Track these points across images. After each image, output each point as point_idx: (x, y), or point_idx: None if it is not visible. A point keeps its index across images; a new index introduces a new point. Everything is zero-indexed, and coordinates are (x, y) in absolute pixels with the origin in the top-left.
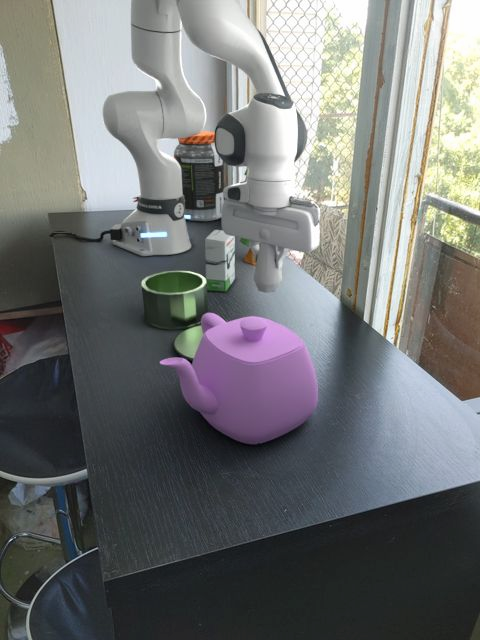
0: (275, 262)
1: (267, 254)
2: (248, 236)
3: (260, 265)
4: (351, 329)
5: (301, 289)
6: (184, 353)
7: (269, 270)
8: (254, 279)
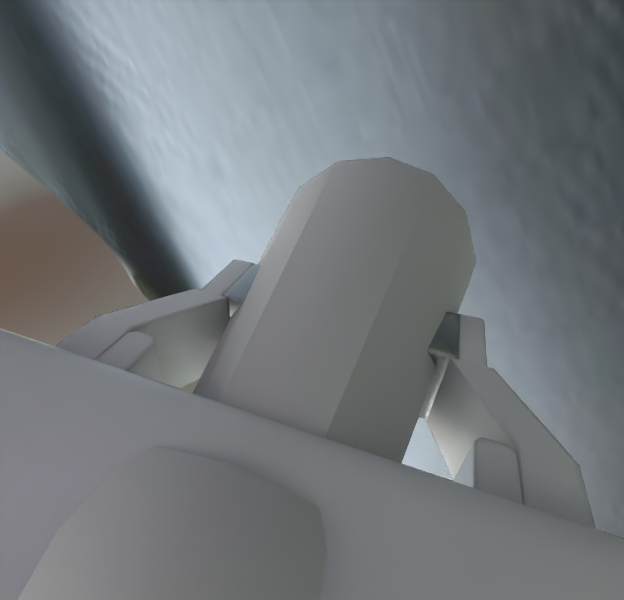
0: (244, 284)
1: (269, 302)
2: (616, 591)
3: (374, 235)
4: (112, 196)
5: None
6: None
7: (296, 219)
8: (448, 193)
